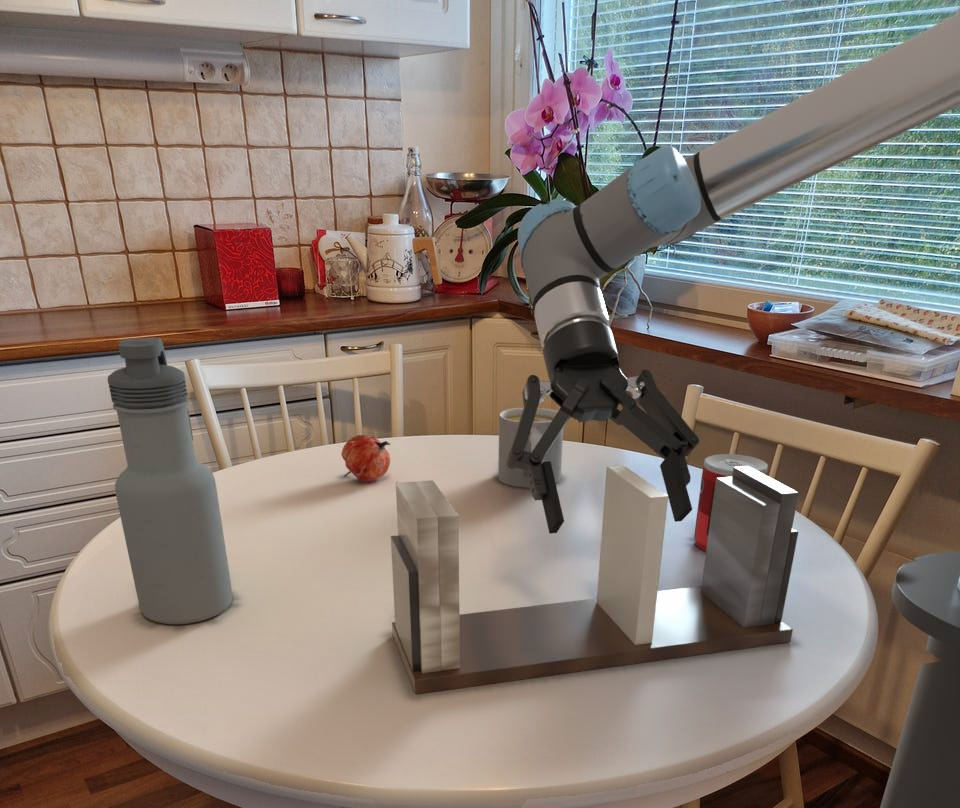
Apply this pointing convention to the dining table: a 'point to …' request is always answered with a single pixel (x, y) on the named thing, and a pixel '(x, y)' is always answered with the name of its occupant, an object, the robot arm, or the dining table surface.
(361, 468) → the pomegranate
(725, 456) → the canned food
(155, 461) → the water bottle
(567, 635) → the book shelf
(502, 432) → the coffee mug
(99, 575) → the dining table surface
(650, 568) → the white book
